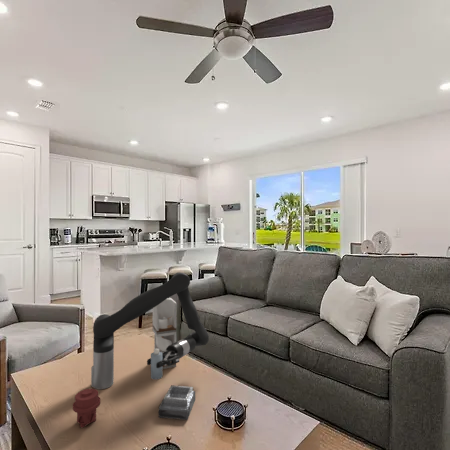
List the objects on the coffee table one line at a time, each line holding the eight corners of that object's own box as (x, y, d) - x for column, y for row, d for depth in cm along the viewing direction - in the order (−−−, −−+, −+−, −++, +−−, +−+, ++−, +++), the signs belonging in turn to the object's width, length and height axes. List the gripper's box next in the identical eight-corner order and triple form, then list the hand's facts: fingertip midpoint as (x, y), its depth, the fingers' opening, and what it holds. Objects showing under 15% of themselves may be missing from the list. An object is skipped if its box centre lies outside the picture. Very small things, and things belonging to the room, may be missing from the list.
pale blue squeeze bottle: (149, 379, 132) (149, 351, 132) (153, 373, 137) (153, 346, 137) (160, 379, 132) (160, 352, 132) (164, 374, 137) (163, 347, 137)
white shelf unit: (152, 361, 174) (152, 299, 173) (170, 357, 178) (171, 298, 178) (156, 370, 163) (157, 305, 163) (176, 366, 168) (176, 302, 167)
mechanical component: (105, 416, 125) (90, 432, 115) (83, 412, 127) (66, 428, 117) (105, 386, 125) (90, 400, 115) (83, 383, 127) (66, 396, 117)
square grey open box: (158, 418, 124) (158, 403, 124) (169, 397, 138) (169, 384, 138) (187, 420, 122) (187, 406, 122) (195, 399, 137) (195, 386, 137)
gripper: (167, 339, 150) (140, 351, 136) (190, 345, 143) (164, 359, 128) (167, 354, 150) (140, 368, 136) (190, 361, 143) (164, 377, 128)
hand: (152, 364), depth 132 cm, fingers closed on pale blue squeeze bottle, 5 cm apart
